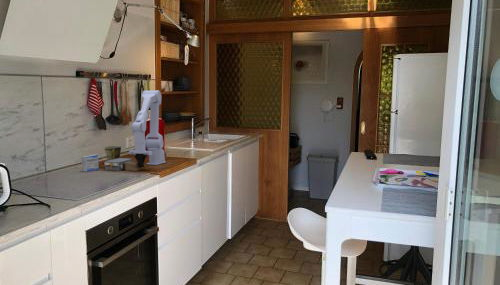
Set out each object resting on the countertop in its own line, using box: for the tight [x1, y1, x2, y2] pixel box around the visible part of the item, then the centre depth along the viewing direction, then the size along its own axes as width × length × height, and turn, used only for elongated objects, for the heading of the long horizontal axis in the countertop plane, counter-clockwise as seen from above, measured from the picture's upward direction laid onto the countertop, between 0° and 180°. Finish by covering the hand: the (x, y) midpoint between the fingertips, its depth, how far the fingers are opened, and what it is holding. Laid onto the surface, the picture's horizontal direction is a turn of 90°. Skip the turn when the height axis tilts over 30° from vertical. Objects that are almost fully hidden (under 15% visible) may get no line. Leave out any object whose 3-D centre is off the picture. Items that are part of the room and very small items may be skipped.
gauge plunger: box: [111, 160, 135, 170], centre depth 244 cm, size 12×9×4 cm
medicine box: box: [80, 154, 100, 173], centre depth 242 cm, size 8×4×9 cm, turn 143°
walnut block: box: [124, 161, 143, 172], centre depth 241 cm, size 5×8×4 cm, turn 65°
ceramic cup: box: [103, 145, 122, 161], centre depth 263 cm, size 13×10×10 cm
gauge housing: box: [104, 157, 134, 172], centre depth 246 cm, size 12×10×5 cm
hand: (141, 167), depth 239 cm, fingers closed
